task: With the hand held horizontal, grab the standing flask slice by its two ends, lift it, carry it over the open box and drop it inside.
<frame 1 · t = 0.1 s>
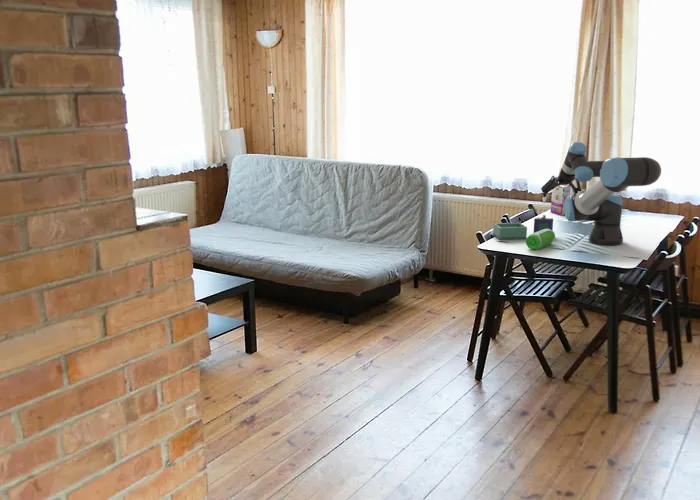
hand: (556, 200, 336), 15 cm above the table, tool tilted 35°, fingers open, 13 cm apart
candy bar box: (559, 214, 379), on the table
flask: (542, 236, 326), on the table
speaker: (540, 247, 305), on the table
open box: (509, 237, 324), on the table
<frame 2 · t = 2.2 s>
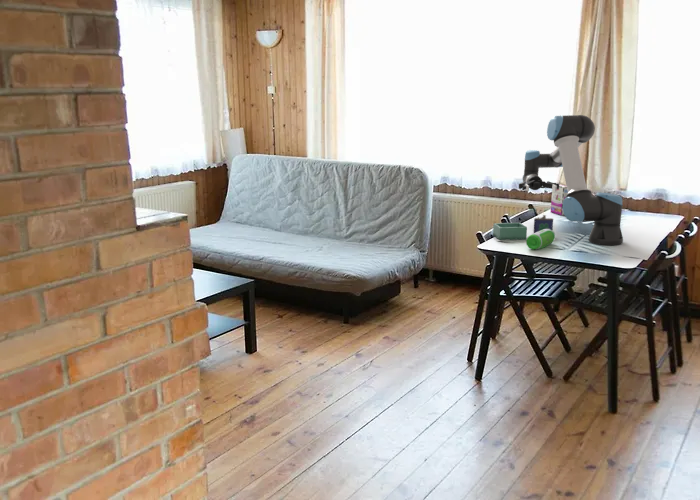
hand: (541, 188, 329), 22 cm above the table, tool horizontal, fingers open, 13 cm apart
nothing on the table moved.
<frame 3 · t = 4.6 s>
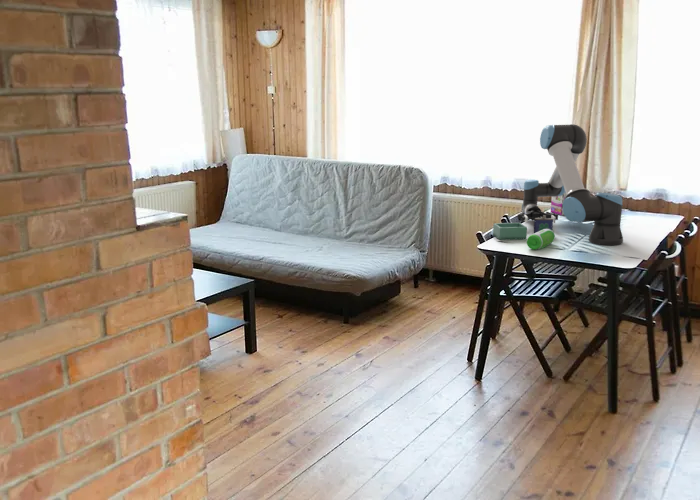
hand: (540, 220, 330), 7 cm above the table, tool horizontal, fingers open, 13 cm apart
nothing on the table moved.
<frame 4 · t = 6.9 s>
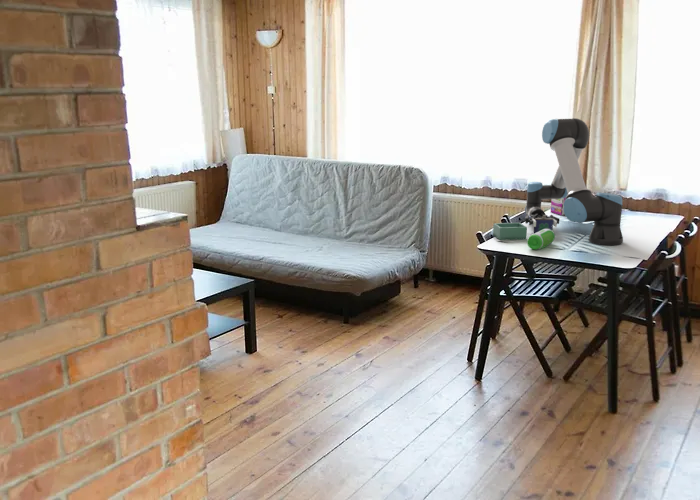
hand: (545, 224, 319), 7 cm above the table, tool horizontal, fingers closed on flask, 9 cm apart
flask: (542, 236, 325), on the table, touching gripper
everything else where it was.
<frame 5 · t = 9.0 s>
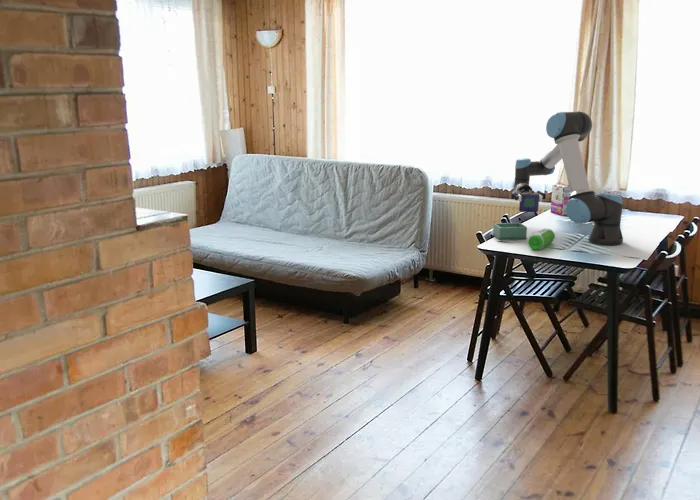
hand: (530, 199, 317), 19 cm above the table, tool horizontal, fingers closed on flask, 9 cm apart
flask: (528, 211, 323), point 12 cm above the table, touching gripper
everything else where it was.
when the fingers open (13 cm above the table, at t = 11.2 s): flask drops 5 cm, resting on open box.
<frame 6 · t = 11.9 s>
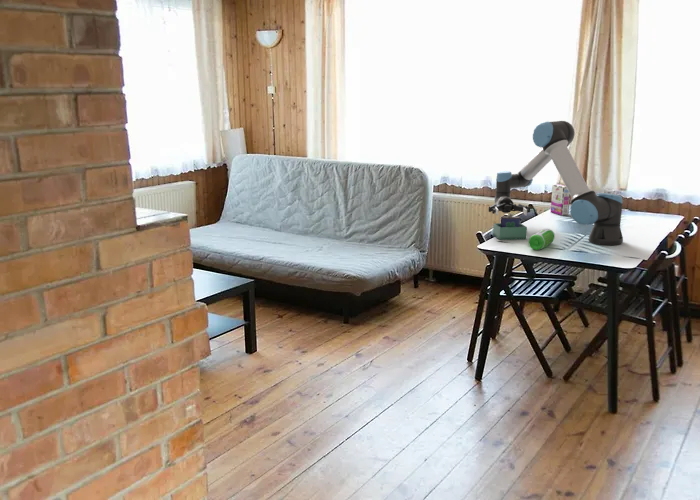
hand: (511, 212, 318), 13 cm above the table, tool horizontal, fingers open, 13 cm apart
flask: (509, 235, 324), point 1 cm above the table, touching open box
everything else where it was.
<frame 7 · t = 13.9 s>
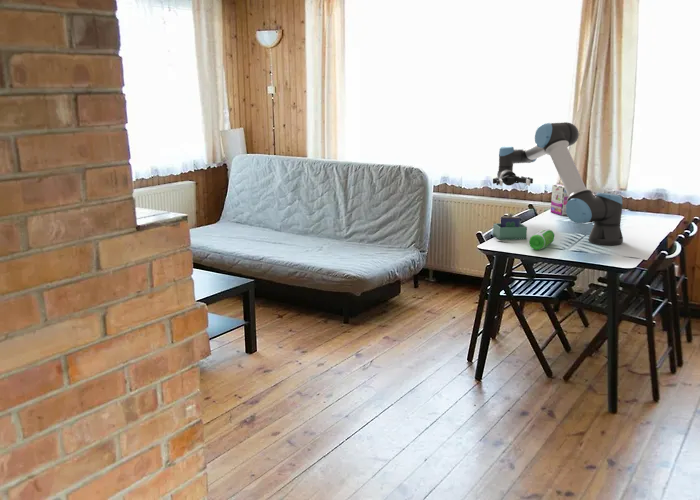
hand: (515, 183, 329), 25 cm above the table, tool horizontal, fingers open, 13 cm apart
nothing on the table moved.
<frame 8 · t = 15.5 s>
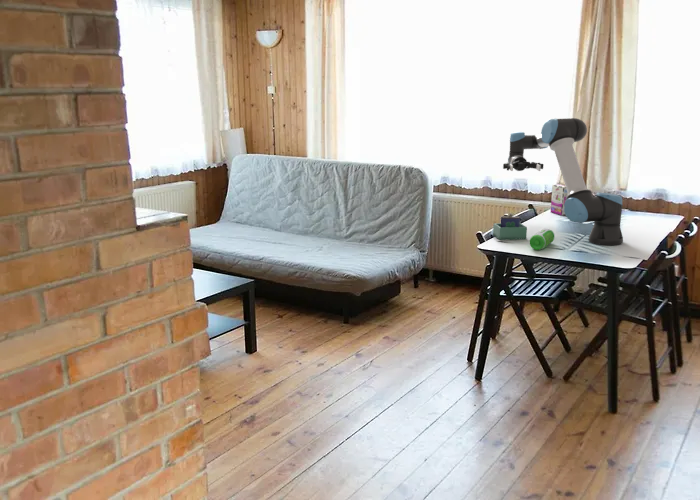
hand: (525, 168, 330), 32 cm above the table, tool horizontal, fingers open, 13 cm apart
nothing on the table moved.
at the end: flask inside the target area on the open box (0.2 cm from its centre), point 1.0 cm above the open box's base; the gripper is holding nothing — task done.
